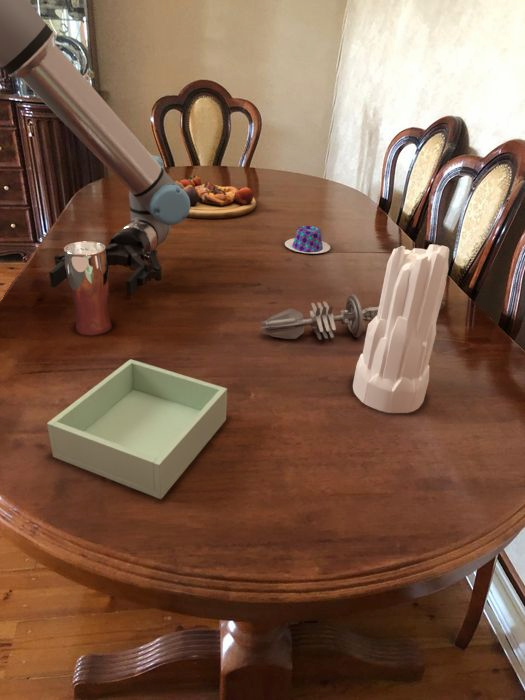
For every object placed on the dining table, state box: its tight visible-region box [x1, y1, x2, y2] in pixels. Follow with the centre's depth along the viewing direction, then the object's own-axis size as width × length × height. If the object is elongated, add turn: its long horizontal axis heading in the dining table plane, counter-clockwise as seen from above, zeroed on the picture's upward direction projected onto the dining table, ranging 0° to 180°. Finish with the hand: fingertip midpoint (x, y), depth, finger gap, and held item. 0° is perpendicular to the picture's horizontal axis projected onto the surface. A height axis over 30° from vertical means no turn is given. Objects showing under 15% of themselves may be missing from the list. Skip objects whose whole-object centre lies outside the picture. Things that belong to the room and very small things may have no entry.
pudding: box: [284, 225, 331, 255], centre depth 136 cm, size 12×12×5 cm
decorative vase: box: [352, 243, 450, 414], centre depth 75 cm, size 11×11×25 cm
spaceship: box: [260, 293, 447, 340], centre depth 96 cm, size 8×35×8 cm
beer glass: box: [63, 240, 112, 336], centre depth 90 cm, size 7×7×15 cm
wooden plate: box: [174, 174, 257, 220], centre depth 165 cm, size 32×32×8 cm
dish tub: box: [46, 358, 228, 500], centre depth 68 cm, size 16×17×6 cm
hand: (89, 284), depth 90 cm, fingers open, 13 cm apart
